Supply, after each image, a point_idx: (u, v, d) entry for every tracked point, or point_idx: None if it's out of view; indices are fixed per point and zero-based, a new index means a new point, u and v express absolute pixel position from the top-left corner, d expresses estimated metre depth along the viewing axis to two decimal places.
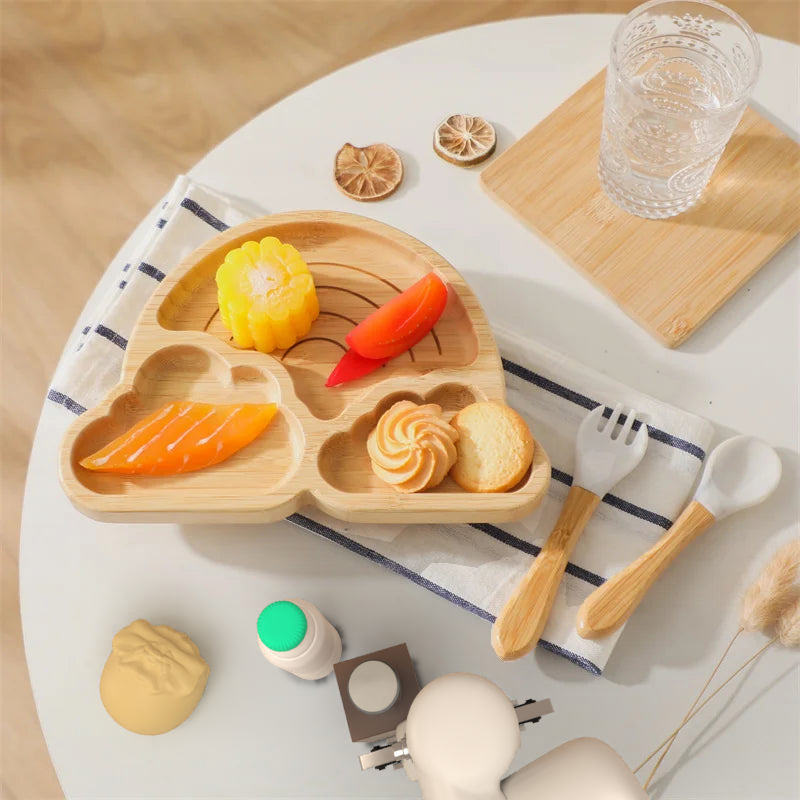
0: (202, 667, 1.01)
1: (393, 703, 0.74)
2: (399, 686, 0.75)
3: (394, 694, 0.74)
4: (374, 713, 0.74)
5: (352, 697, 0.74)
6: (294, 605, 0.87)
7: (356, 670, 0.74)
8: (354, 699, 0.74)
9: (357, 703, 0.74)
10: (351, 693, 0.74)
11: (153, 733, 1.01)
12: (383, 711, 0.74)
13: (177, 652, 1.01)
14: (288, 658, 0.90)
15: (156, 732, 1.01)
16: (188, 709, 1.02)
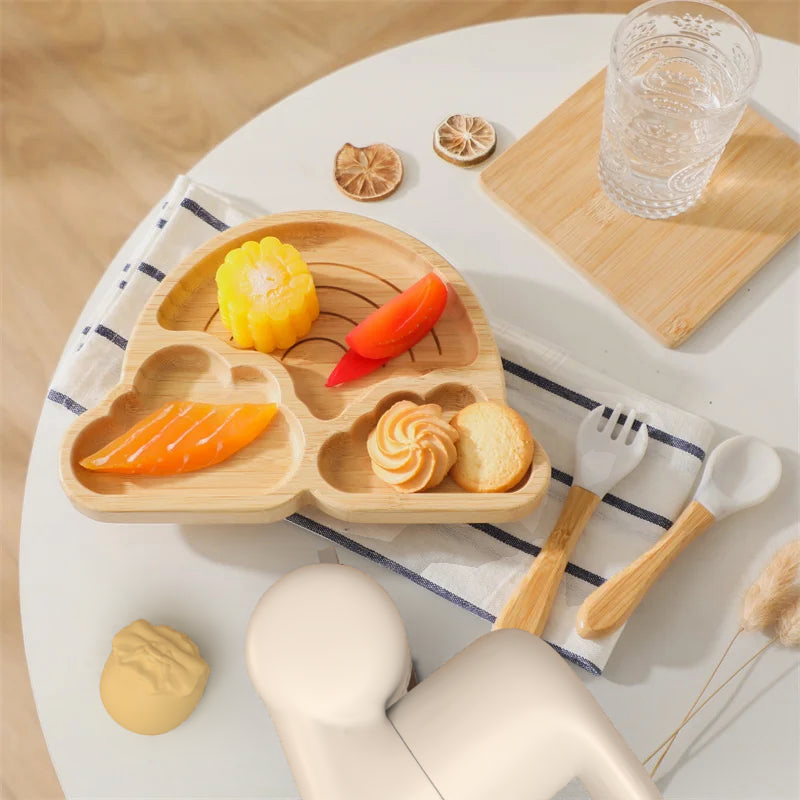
0: (202, 667, 1.01)
1: None
2: None
3: None
4: None
5: None
6: None
7: None
8: None
9: None
10: None
11: (153, 733, 1.01)
12: None
13: (177, 652, 1.01)
14: None
15: (156, 732, 1.01)
16: (188, 709, 1.02)
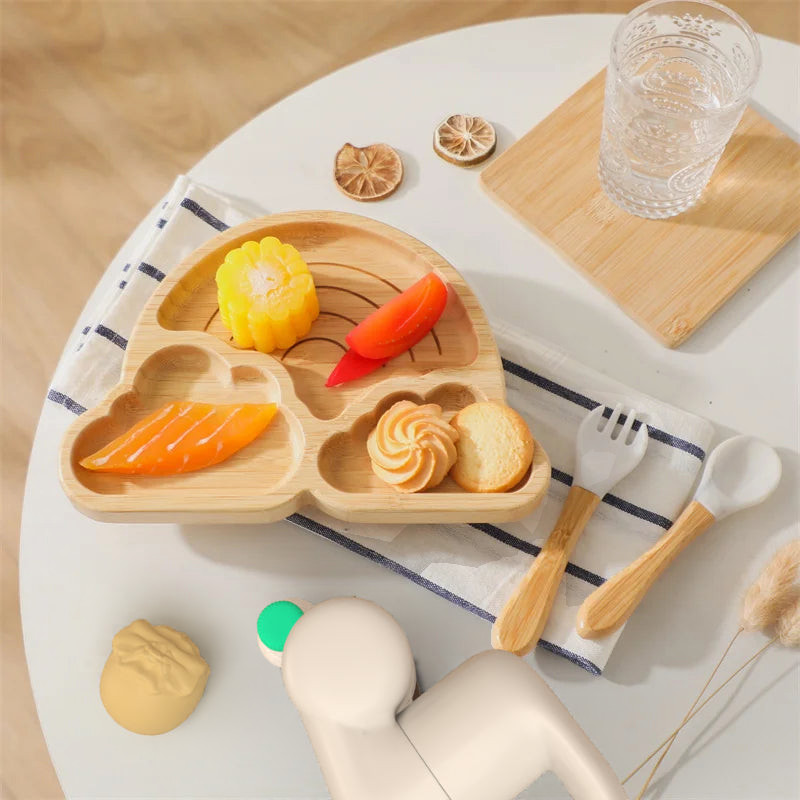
0: (202, 667, 1.01)
1: None
2: None
3: None
4: None
5: None
6: (294, 605, 0.87)
7: None
8: None
9: None
10: None
11: (153, 733, 1.01)
12: None
13: (177, 652, 1.01)
14: None
15: (156, 732, 1.01)
16: (188, 708, 1.02)
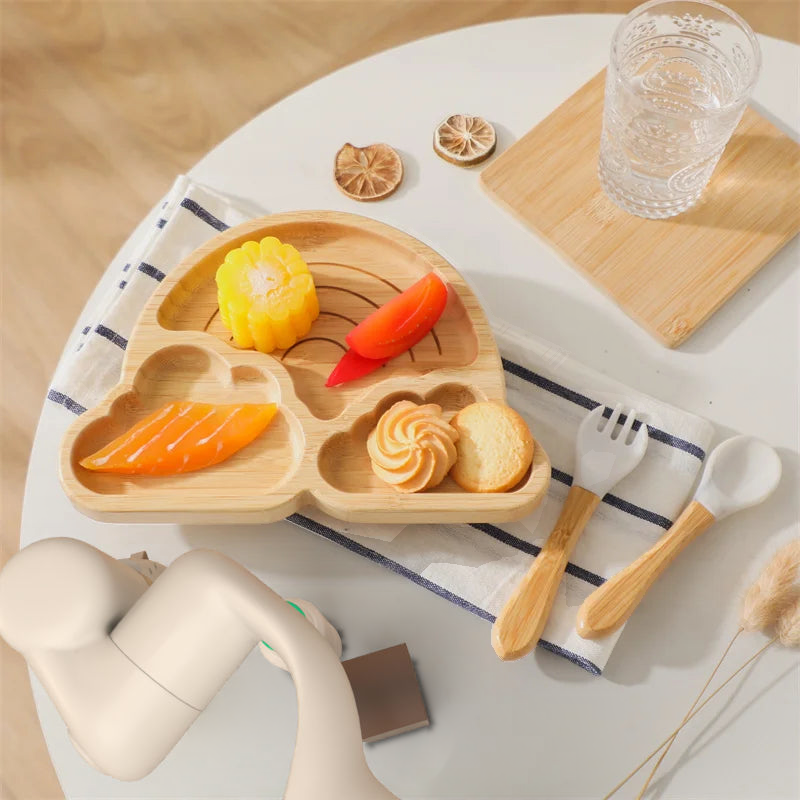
0: None
1: None
2: None
3: None
4: None
5: None
6: (294, 605, 0.87)
7: None
8: None
9: None
10: None
11: None
12: None
13: None
14: None
15: None
16: None
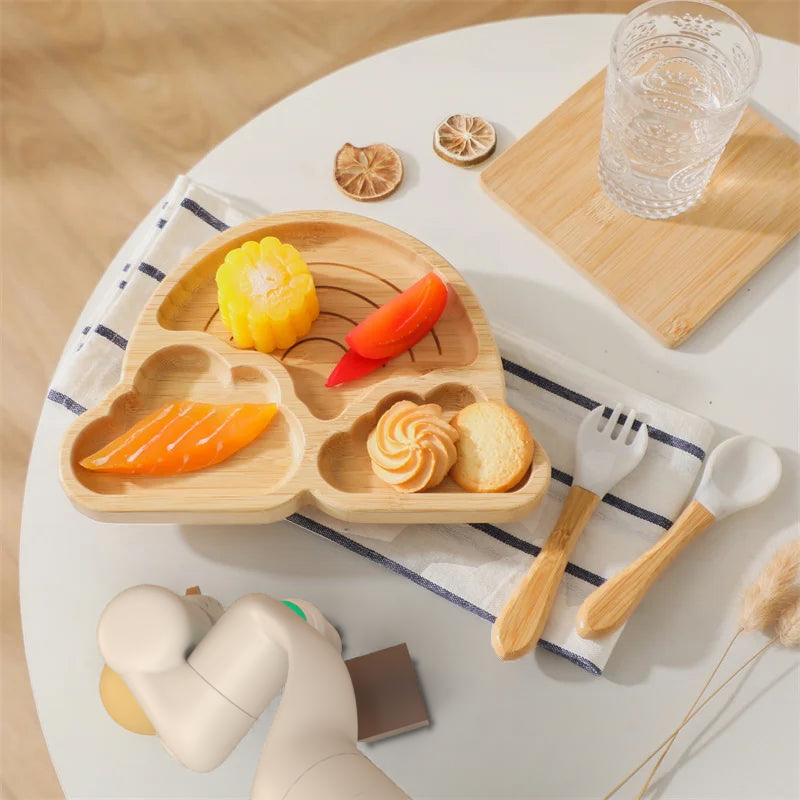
0: None
1: None
2: None
3: None
4: None
5: None
6: (294, 605, 0.87)
7: None
8: None
9: None
10: None
11: (153, 733, 1.01)
12: None
13: None
14: None
15: None
16: None
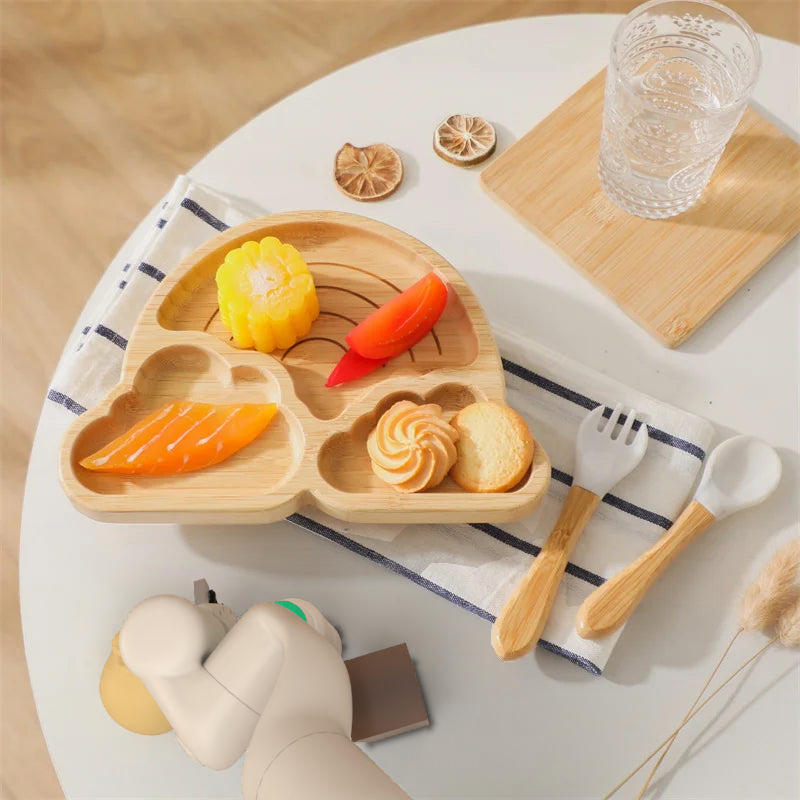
0: None
1: None
2: None
3: None
4: None
5: None
6: (294, 605, 0.87)
7: None
8: None
9: None
10: None
11: (153, 733, 1.01)
12: None
13: None
14: None
15: (156, 732, 1.01)
16: None
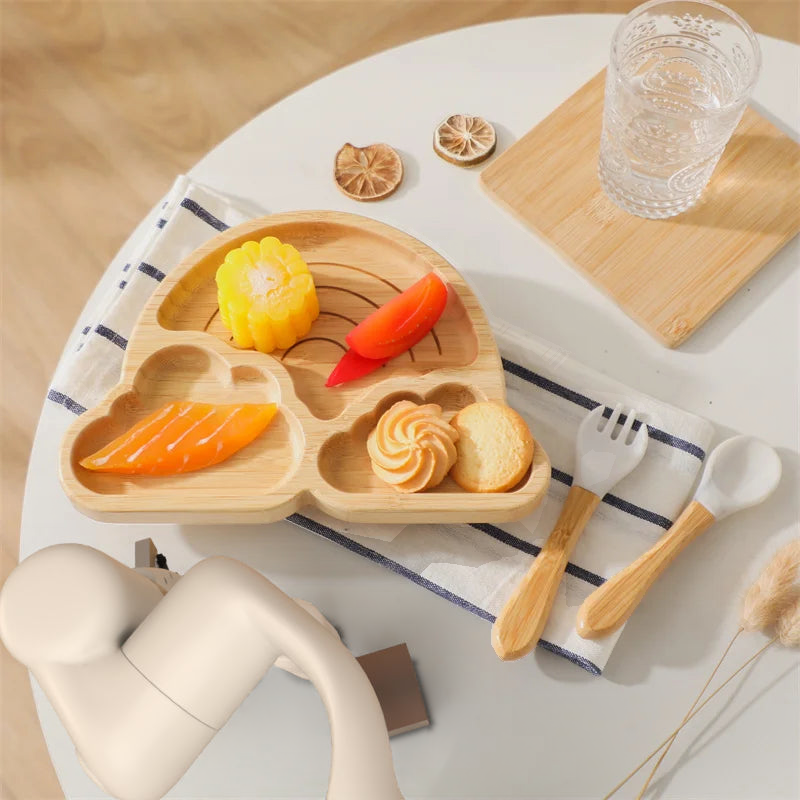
0: None
1: None
2: None
3: None
4: None
5: None
6: None
7: None
8: None
9: None
10: None
11: None
12: None
13: None
14: (288, 658, 0.90)
15: None
16: None
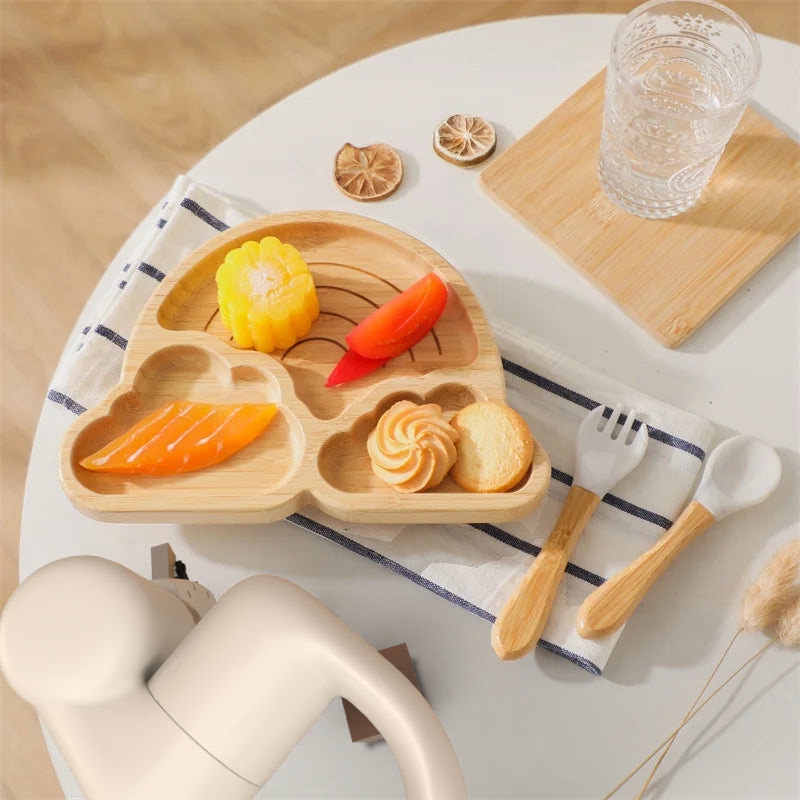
0: None
1: None
2: None
3: None
4: None
5: None
6: None
7: None
8: None
9: None
10: None
11: None
12: None
13: None
14: None
15: None
16: None
